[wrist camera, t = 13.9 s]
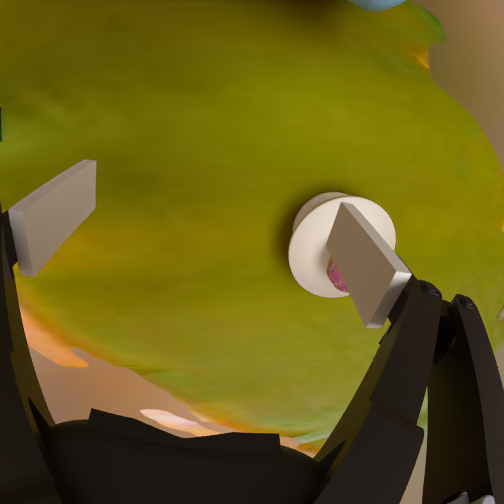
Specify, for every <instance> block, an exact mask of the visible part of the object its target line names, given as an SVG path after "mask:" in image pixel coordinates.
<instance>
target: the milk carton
mask: <svg viewBox="0 0 504 504" xmlns="http://www.w3.org/2000/svg"><path fill="white" fill-rule="evenodd" d="M1 141H2V136H1V107H0V142H1Z"/></svg>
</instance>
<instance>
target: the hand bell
mask: <svg viewBox="0 0 504 504" xmlns="http://www.w3.org/2000/svg"><path fill="white" fill-rule="evenodd" d="M498 320H500V321H501V320H503V321H504V307H503V308H502V309H501V311H500V312H499V314H498Z"/></svg>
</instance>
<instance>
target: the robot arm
mask: <svg viewBox="0 0 504 504" xmlns="http://www.w3.org/2000/svg"><path fill="white" fill-rule="evenodd" d="M348 1H349V2H351V3H353V4H354V5H356V6H357V7H359V8H361V9H363V10H368V11H374V12H376V11H383V10H386V9H389V8H392V7H394V6H397V5H399V4H401V3H402V2H404V1H406V0H348ZM95 209H96V160H85V159H84V160H82V161H81V162H79V163H77V164H75V165H74V166H72V167H70V168H69V169H67V170H66V171H64V172H62V173H61V174H59V175H57V176H56V177H54V178H53V179H51V180H50V181H48V182H47V183H45V184H43V185H42V186H40V187H39V188H38V189H36V190H35V191H33V192H32V193H30V194H29V195H27V196H26V197H25V198H23V199H22V200H20V201H19V202H18V203H16V204H15V205H14V206H12V207H11V208H10V209H8V210H7V211H6V212H4V213H3V214H2V211H1V203H0V504H399V503H400V501H401V499H402V496H403V494H404V491H405V489H406V487H407V484H408V482H409V479H410V477H411V474H412V471H413V469H414V466H415V463H416V460H417V457H418V454H419V451H420V448H421V445H422V442H423V438H424V430H423V428H421V427H419V426H417V425H416V424H417V420H418V417H419V414H420V410H421V407H422V403H423V400H424V396H425V392H426V388H428V433H427V453H426V466H425V476H424V485H423V496H422V504H504V390H503V386H502V382H501V378H500V374H499V371H498V367H497V363H496V360H495V357H494V353H493V350H492V347H491V344H490V341H489V338H488V335H487V332H486V329H485V327H484V324H483V321H482V319H481V316H480V313H479V311H478V308H477V307H476V305H475V304H474V303H473V301H472V300H471V299H470V298H469V297H466V296H464V295H461V294H456V295H455V297H454V298H453V300H452V302H451V303H450V302H447V301H445V300H442V294H441V293H440V291H439V290H438V289H437V288H436V287H435V286H434V285H433V284H431V283H429V282H426V281H423V280H417V279H416V277H415V276H414V275H413V273H412V272H411V271H410V270H409V268H407V266H406V265H405V263H403V261H402V260H401V258H400V257H399V256H398V255H397V254H396V253H395V252H394V251H393V250H392V248H391V247H390V246H389V245H388V244H387V242H386V241H385V240H384V239H383V238H382V236H381V235H380V234H379V233H378V232H377V231H376V229H375V228H374V227H373V226H372V225H371V224H370V223H369V221H368V220H367V219H366V218H365V217H364V216H363V215H362V214H361V212H360V211H359V210H358V209H357V208H356V207H355V206H354V205H353V204H349V203H345V202H341V203H340V206H339V209H338V212H337V215H336V217H335V220H334V223H333V226H332V229H331V232H330V234H329V237H328V240H327V243H326V245H325V246H326V248H327V249H328V251H329V253H330V255H331V257H332V259H333V261H334V263H335V265H336V267H337V269H338V271H339V273H340V275H341V277H342V279H343V281H344V283H345V285H346V287H347V289H348V291H349V293H350V295H351V297H352V300H353V302H354V304H355V306H356V308H357V310H358V312H359V314H360V316H361V319H362V321H363V323H364V325H365V327H366V328H381V327H382V326H383V324H384V322H385V321H386V319H387V317H388V318H389V320H390V322H391V325H390V327H389V328H388V330H387V331H386V333H385V334H384V336H383V338H382V339H381V341H380V342H379V344H380V347H379V349H378V351H377V353H376V355H375V357H374V359H373V361H372V363H371V365H370V367H369V369H368V371H367V373H366V375H365V377H364V378H363V380H362V382H361V384H360V386H359V388H358V389H357V391H356V393H355V395H354V397H353V398H352V400H351V402H350V404H349V405H348V407H347V409H346V410H345V412H344V414H343V415H342V417H341V419H340V420H339V422H338V424H337V425H336V427H335V428H334V430H333V432H332V433H331V435H330V436H329V438H328V439H327V441H326V442H325V444H324V445H323V447H322V448H321V449H320V451H319V452H318V453H317V454H316V456H315V457H314V458H311V457H309V456H307V455H306V454H304V453H302V452H299V451H297V450H295V449H292V448H289V447H286V446H282V445H280V438H279V434H271V433H240V432H231V433H225V434H218V435H210V436H202V437H194V438H181V437H178V436H175V435H172V434H170V433H167V432H165V431H162V430H160V429H157V428H155V427H153V426H150V425H148V424H146V423H143V422H141V421H139V420H137V419H133V418H129V417H124V416H120V415H116V414H112V413H108V412H104V411H100V410H96V409H93V408H92V409H91V412H90V416H89V419H88V420H84V419H83V420H72V421H67V422H62V423H59V424H55V422H54V420H53V418H52V416H51V414H50V412H49V410H48V407H47V404H46V402H45V399H44V396H43V393H42V391H41V388H40V385H39V382H38V379H37V376H36V373H35V369H34V366H33V363H32V359H31V356H30V352H29V348H28V344H27V340H26V336H25V332H24V328H23V323H22V318H21V313H20V308H19V303H18V297H17V290H16V284H15V276H14V272H13V268H12V267H13V265H14V264H15V263H16V262H18V266H19V270H20V274H22V275H26V276H30V277H34V278H35V276H36V275H37V274H38V273H39V271H40V270H41V269H42V268H43V266H44V265H45V264H46V263H47V261H48V260H49V259H50V258H51V257H52V256H53V254H54V253H55V252H56V251H57V250H58V249H59V247H60V246H61V245H62V244H63V243H64V242H65V241H66V239H67V238H68V237H69V236H70V235H71V234H72V233H73V232H74V231H75V230H76V228H77V227H78V226H79V225H80V224H81V223H82V222H83V221H84V220H85V219H86V218H87V217H88V216H89V215H90V214H91V213H92V212H93V211H94V210H95Z"/></svg>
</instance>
